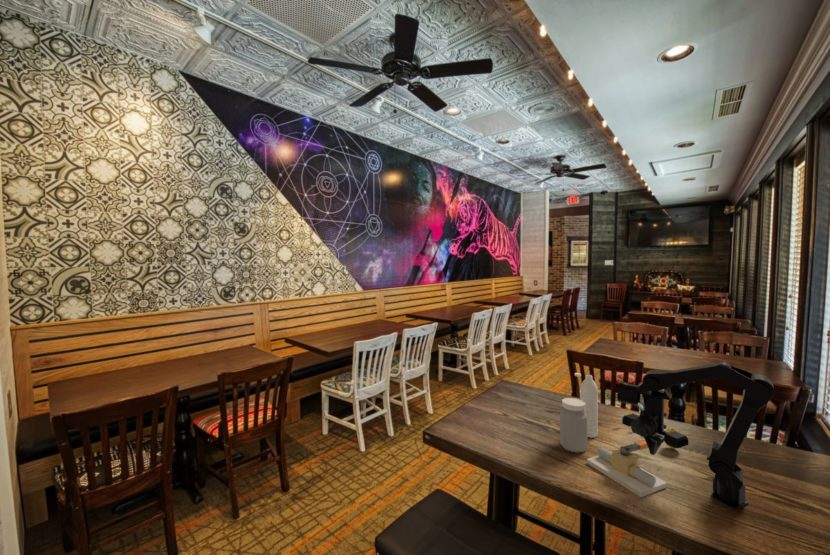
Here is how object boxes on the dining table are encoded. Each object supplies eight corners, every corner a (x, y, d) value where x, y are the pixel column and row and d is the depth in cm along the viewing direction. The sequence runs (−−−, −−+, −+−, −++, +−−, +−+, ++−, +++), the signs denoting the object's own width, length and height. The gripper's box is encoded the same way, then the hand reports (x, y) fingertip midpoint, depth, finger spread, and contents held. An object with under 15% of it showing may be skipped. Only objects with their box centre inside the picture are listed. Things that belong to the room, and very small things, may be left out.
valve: (666, 487, 112) (667, 465, 111) (640, 497, 107) (640, 474, 107) (611, 455, 130) (611, 437, 130) (586, 462, 126) (586, 443, 126)
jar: (555, 447, 137) (555, 402, 136) (565, 438, 144) (565, 394, 143) (582, 457, 130) (582, 409, 129) (591, 446, 137) (591, 401, 136)
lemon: (685, 453, 131) (685, 432, 130) (668, 452, 132) (668, 431, 131) (677, 445, 136) (677, 425, 136) (661, 444, 137) (661, 424, 137)
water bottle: (598, 432, 148) (598, 373, 147) (597, 439, 142) (597, 378, 141) (575, 428, 152) (575, 371, 151) (573, 434, 146) (573, 375, 145)
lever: (625, 456, 117) (625, 450, 117) (618, 452, 119) (618, 446, 119) (650, 448, 121) (650, 442, 121) (643, 444, 124) (643, 439, 124)
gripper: (611, 402, 123) (610, 446, 124) (666, 425, 106) (665, 475, 107) (633, 397, 127) (632, 439, 128) (690, 418, 110) (689, 467, 111)
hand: (652, 454), depth 118 cm, fingers closed
